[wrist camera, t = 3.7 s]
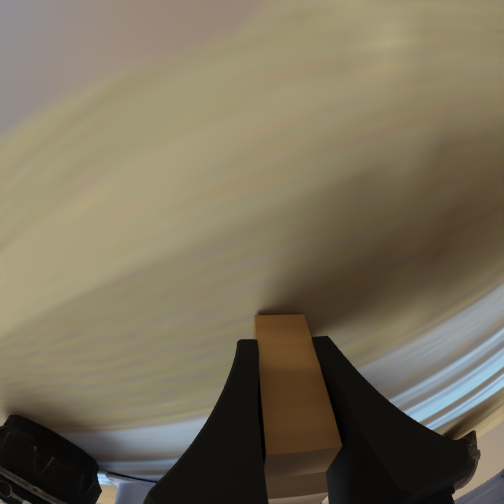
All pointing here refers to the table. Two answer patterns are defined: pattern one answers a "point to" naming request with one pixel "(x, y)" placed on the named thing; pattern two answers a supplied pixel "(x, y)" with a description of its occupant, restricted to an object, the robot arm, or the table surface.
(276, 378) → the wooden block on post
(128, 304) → the table surface
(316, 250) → the table surface
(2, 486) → the container
